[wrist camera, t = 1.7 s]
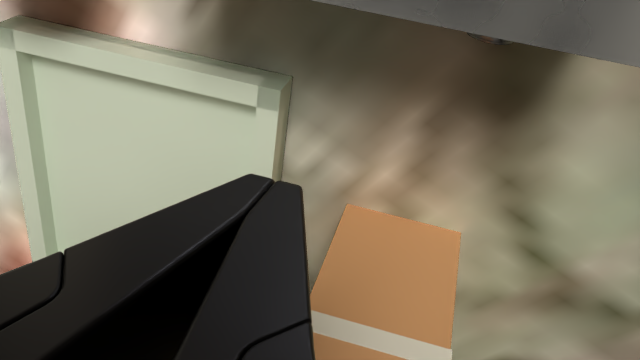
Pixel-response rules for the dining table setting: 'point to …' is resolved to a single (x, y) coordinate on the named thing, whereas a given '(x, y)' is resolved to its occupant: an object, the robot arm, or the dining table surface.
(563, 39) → the box
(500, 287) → the dining table surface
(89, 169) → the tray
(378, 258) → the square block
